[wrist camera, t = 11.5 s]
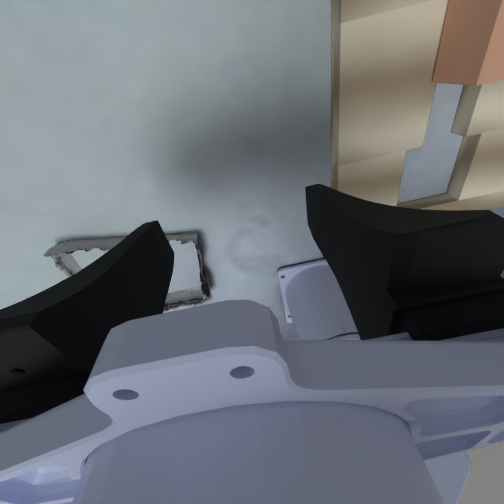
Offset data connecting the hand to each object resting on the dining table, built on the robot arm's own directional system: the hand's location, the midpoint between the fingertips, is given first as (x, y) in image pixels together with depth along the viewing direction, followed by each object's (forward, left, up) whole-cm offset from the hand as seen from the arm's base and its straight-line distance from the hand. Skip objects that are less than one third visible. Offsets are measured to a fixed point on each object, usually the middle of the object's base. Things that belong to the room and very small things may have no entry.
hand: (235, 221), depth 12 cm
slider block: (+5, -16, -9) cm, 19 cm away
